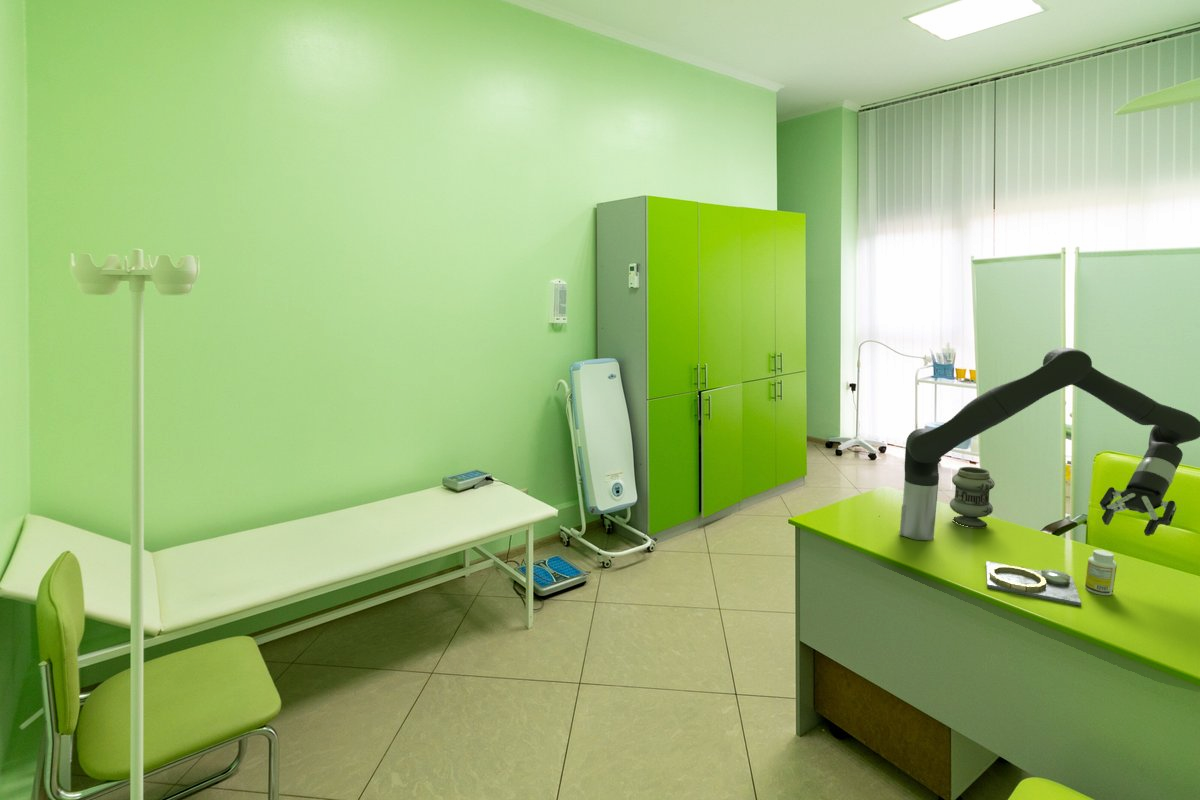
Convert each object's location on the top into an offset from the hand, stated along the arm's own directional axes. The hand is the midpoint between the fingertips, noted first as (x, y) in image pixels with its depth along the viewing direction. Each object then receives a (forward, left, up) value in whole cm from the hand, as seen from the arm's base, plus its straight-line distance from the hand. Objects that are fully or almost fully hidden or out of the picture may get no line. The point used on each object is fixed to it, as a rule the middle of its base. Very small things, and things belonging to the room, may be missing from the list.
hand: (1125, 528), depth 157 cm
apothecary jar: (-33, +29, -15) cm, 46 cm away
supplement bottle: (-5, -9, -15) cm, 18 cm away
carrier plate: (-20, -13, -14) cm, 28 cm away
